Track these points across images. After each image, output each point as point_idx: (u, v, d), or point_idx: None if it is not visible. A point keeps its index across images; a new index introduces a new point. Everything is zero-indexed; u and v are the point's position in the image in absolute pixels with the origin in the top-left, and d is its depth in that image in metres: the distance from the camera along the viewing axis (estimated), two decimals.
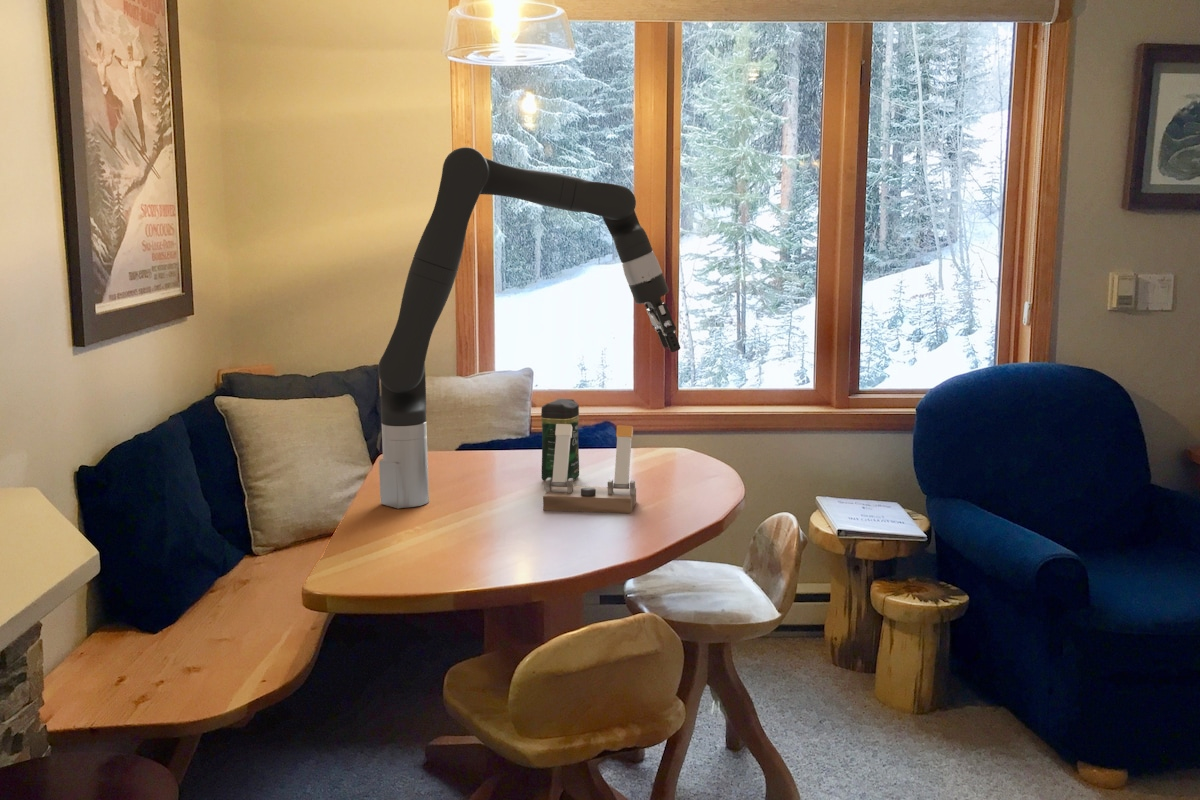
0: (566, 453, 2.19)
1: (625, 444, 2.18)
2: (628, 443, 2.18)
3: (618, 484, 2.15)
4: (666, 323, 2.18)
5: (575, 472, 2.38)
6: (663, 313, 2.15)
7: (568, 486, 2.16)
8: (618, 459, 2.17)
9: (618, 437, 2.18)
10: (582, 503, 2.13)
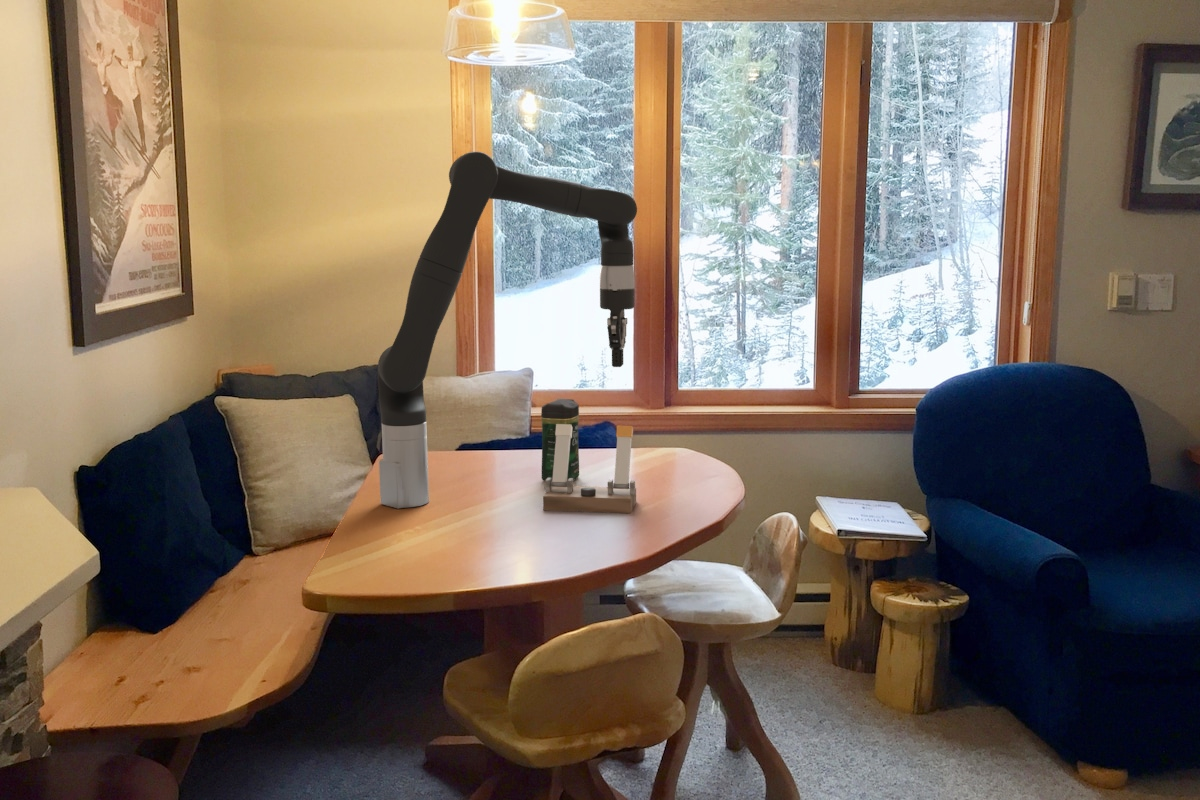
0: (566, 453, 2.19)
1: (625, 444, 2.18)
2: (628, 443, 2.18)
3: (618, 484, 2.15)
4: None
5: (575, 472, 2.38)
6: (613, 333, 2.23)
7: (568, 486, 2.16)
8: (618, 459, 2.17)
9: (618, 437, 2.18)
10: (582, 503, 2.13)
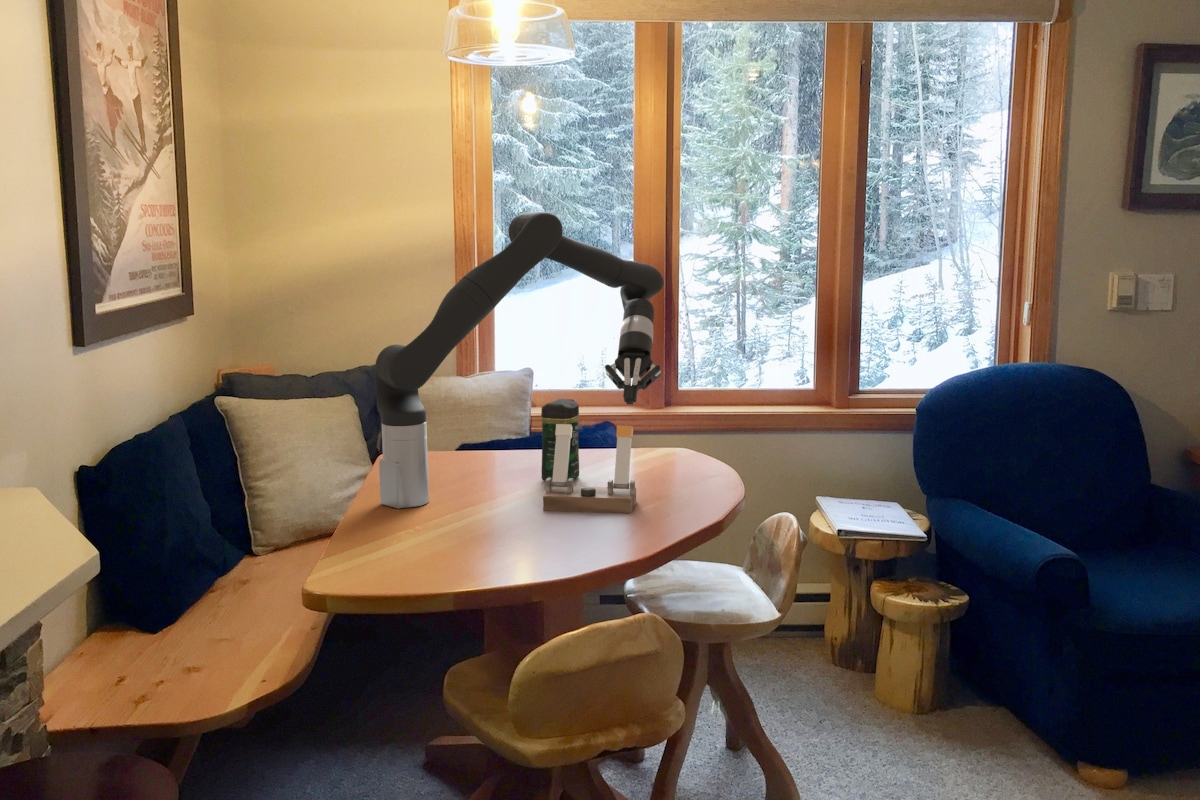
0: (566, 453, 2.19)
1: (625, 444, 2.18)
2: (628, 443, 2.18)
3: (618, 484, 2.15)
4: (637, 380, 2.31)
5: (575, 472, 2.38)
6: (656, 375, 2.31)
7: (568, 486, 2.16)
8: (618, 459, 2.17)
9: (618, 437, 2.18)
10: (582, 503, 2.13)
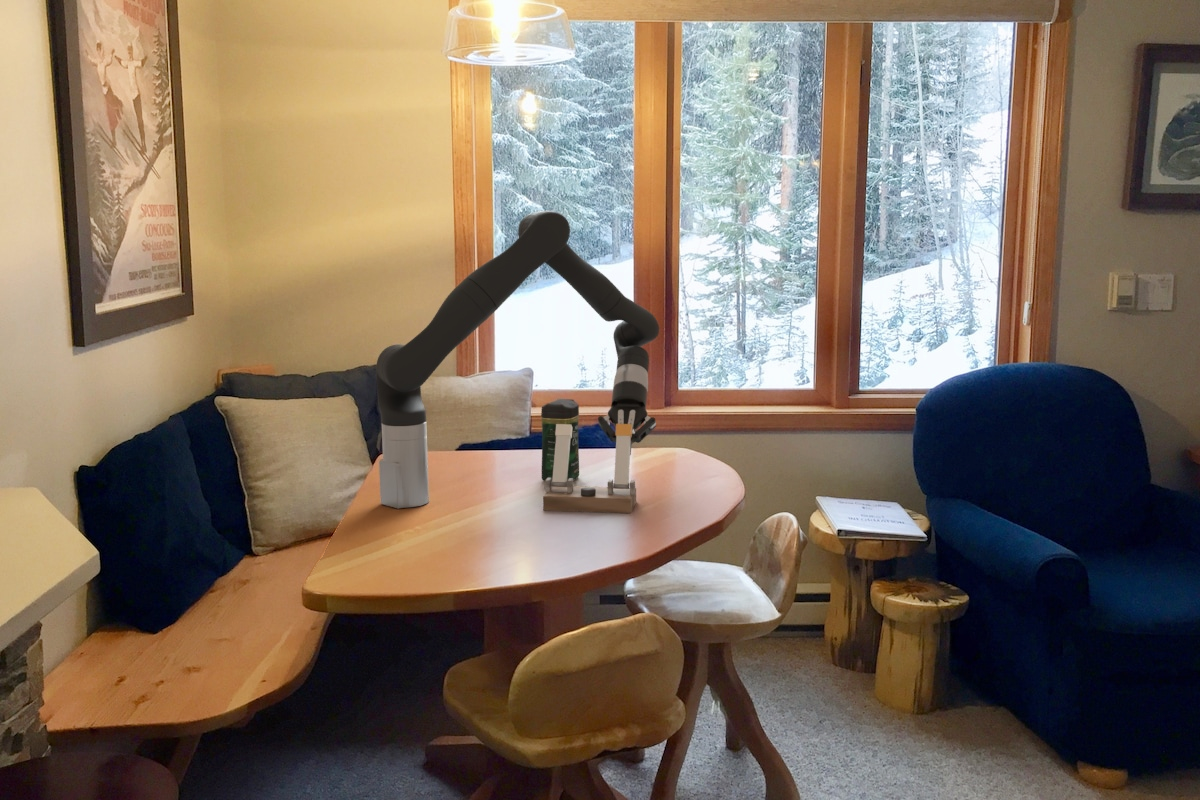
0: (566, 453, 2.19)
1: (624, 443, 2.17)
2: (627, 442, 2.17)
3: (618, 484, 2.15)
4: None
5: (575, 472, 2.38)
6: (650, 427, 2.22)
7: (568, 486, 2.16)
8: (618, 459, 2.16)
9: (617, 436, 2.17)
10: (582, 503, 2.13)
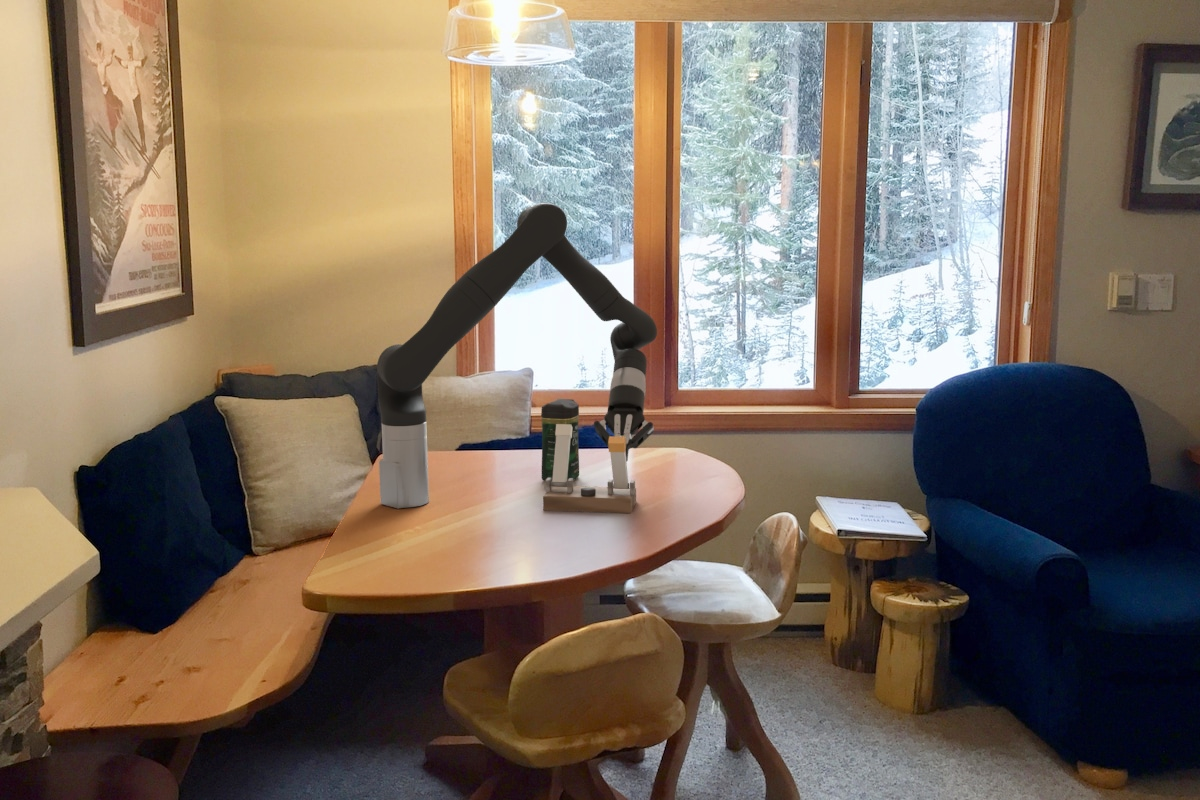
0: (566, 453, 2.19)
1: (619, 457, 2.09)
2: (622, 457, 2.09)
3: (618, 487, 2.15)
4: (628, 438, 2.16)
5: (575, 472, 2.38)
6: (648, 432, 2.16)
7: (568, 486, 2.16)
8: (615, 469, 2.12)
9: (611, 452, 2.09)
10: (582, 503, 2.13)
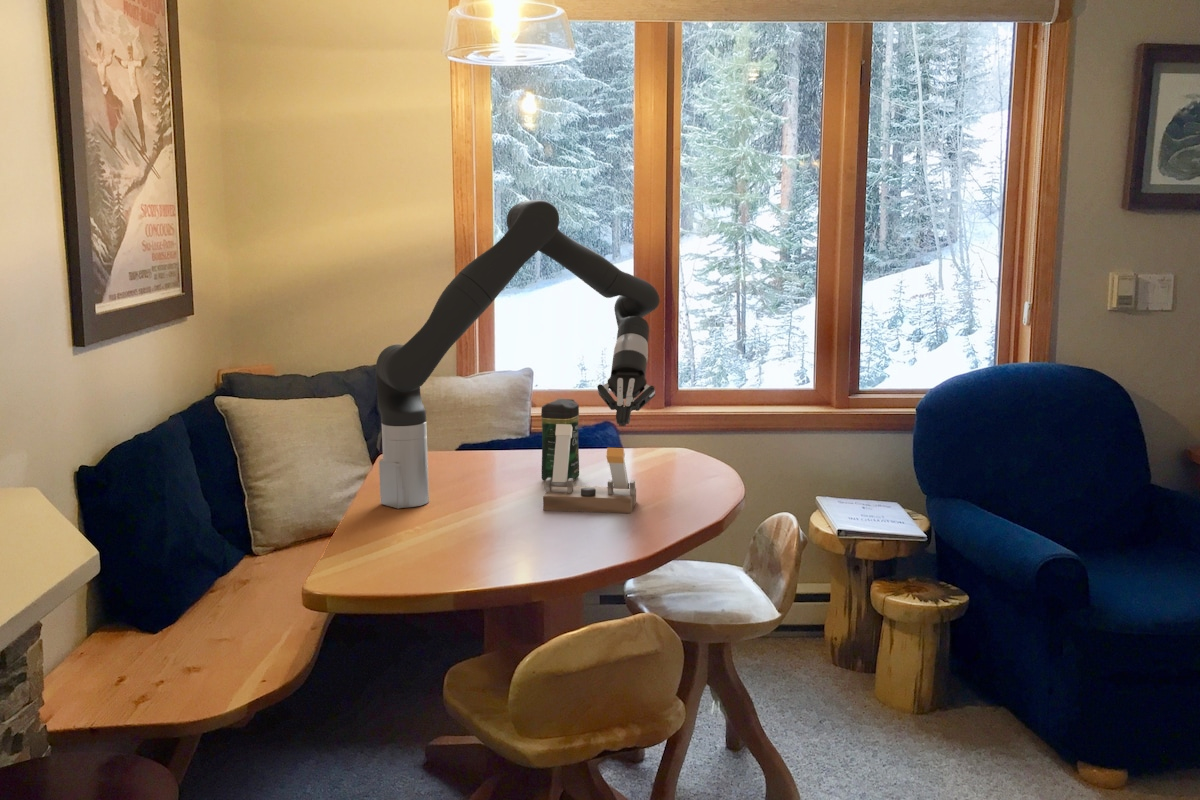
0: (566, 453, 2.19)
1: (618, 466, 2.08)
2: (621, 466, 2.08)
3: None
4: None
5: (575, 472, 2.38)
6: (650, 395, 2.23)
7: (568, 486, 2.16)
8: (614, 475, 2.11)
9: (610, 462, 2.07)
10: (582, 503, 2.13)
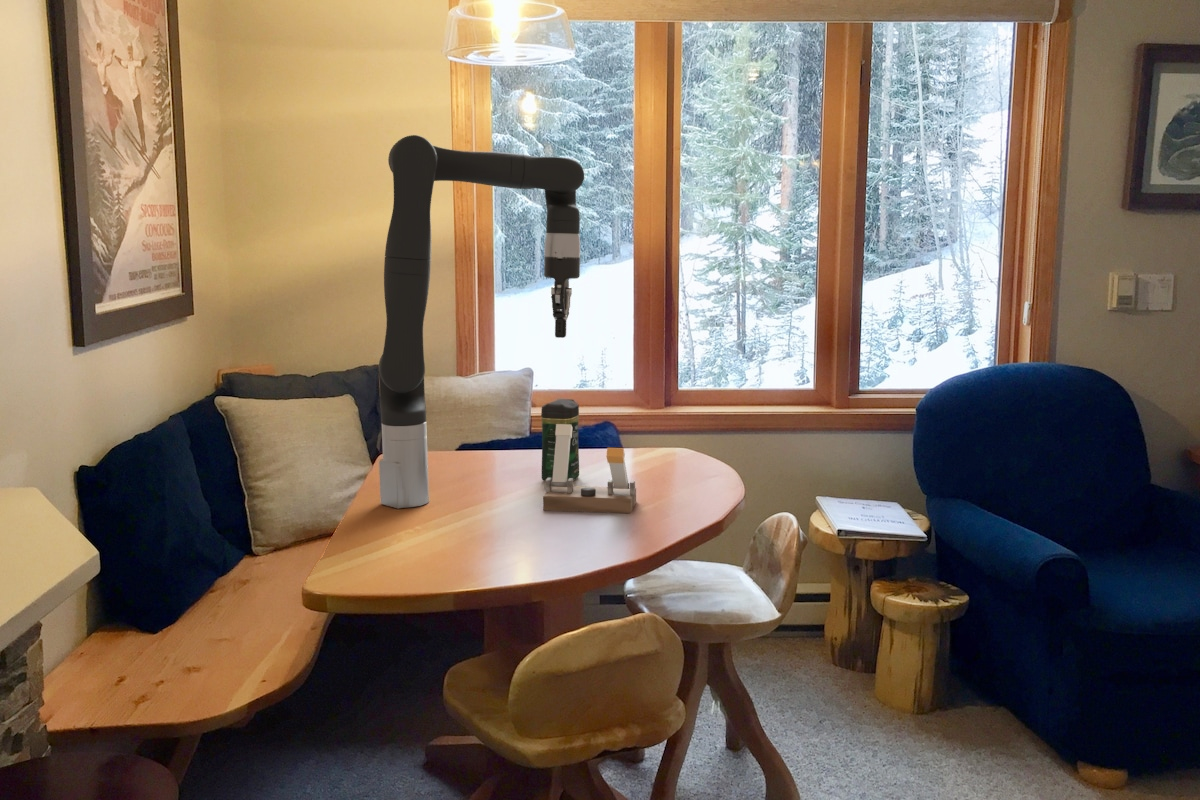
0: (566, 453, 2.19)
1: (618, 466, 2.08)
2: (621, 466, 2.08)
3: None
4: None
5: (575, 472, 2.38)
6: (557, 303, 2.18)
7: (568, 486, 2.16)
8: (614, 475, 2.11)
9: (610, 462, 2.07)
10: (582, 503, 2.13)
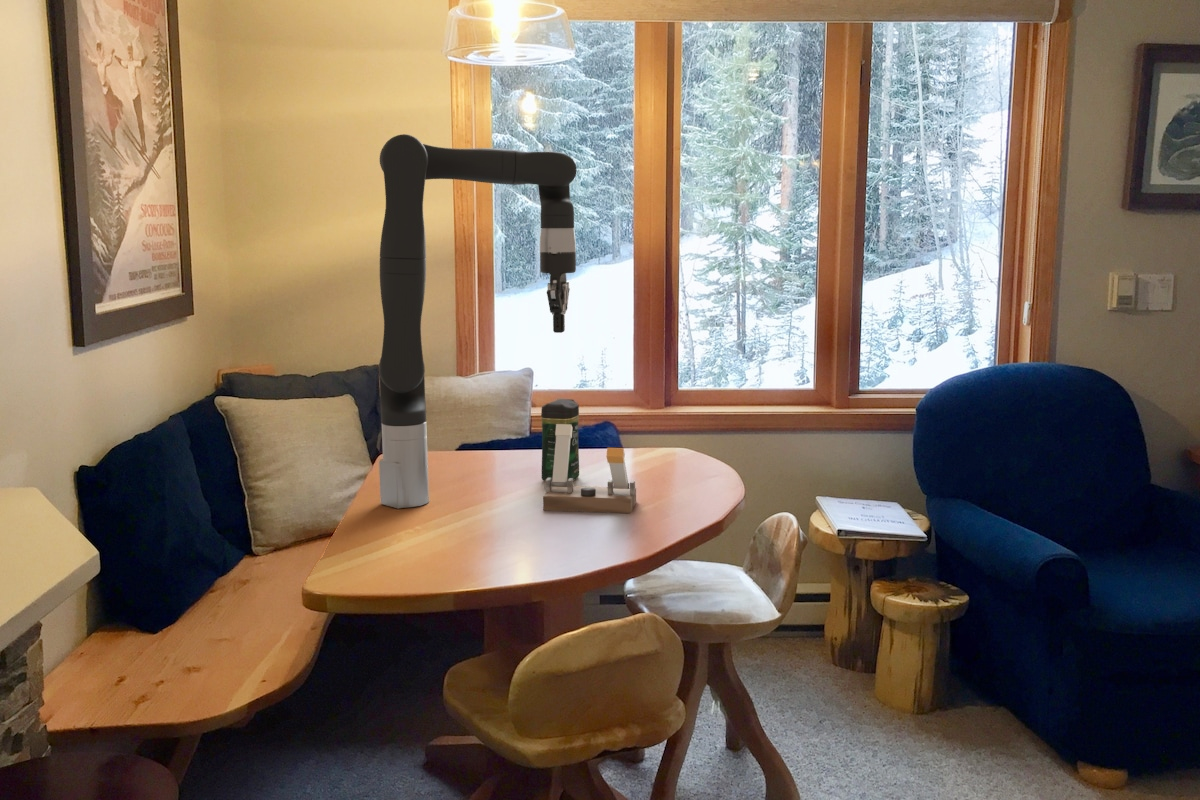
0: (566, 453, 2.19)
1: (618, 466, 2.08)
2: (621, 466, 2.08)
3: None
4: None
5: (575, 472, 2.38)
6: (553, 298, 2.17)
7: (568, 486, 2.16)
8: (614, 475, 2.11)
9: (610, 462, 2.07)
10: (582, 503, 2.13)
